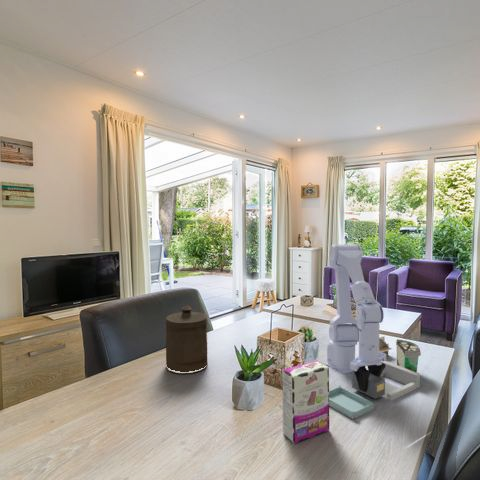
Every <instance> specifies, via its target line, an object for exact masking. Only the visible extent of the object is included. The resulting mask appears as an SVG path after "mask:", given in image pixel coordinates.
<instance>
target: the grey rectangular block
mask: <svg viewBox="0 0 480 480" xmlns="http://www.w3.org/2000/svg"><path fill="white" fill-rule="evenodd" d="M351 380H352V386H351V387H352V389H355V390H357V391H359V392H361V393H363V394H365V395H367V396H369V397H371V398H373V399H378V398H381V396H382V395H384V394H385V382H386V379H385V378H383V377H378V376H376V375H374V374H370V376H369V379H368V386H367V391H366V392H363V391H361V390H359V386H358V382H357V379H356V376H355V374H354V372H353V373H352V379H351Z"/></svg>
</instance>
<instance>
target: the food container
mask: <svg viewBox="0 0 480 480" xmlns="http://www.w3.org/2000/svg"><path fill="white" fill-rule="evenodd" d="M395 341H396V342H395V343H396V365H398V366H401V367H403V368H406V369H409V370H411V371H414V372H417V373H418V364H419V357H420V356H421V355H422V353H421V348H420V346H419V345H418V344H416V343H414V342H412V341H408V340H406V339H405V340H404V339H396V340H395Z"/></svg>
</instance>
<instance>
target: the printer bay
mask: <svg viewBox="0 0 480 480" xmlns="http://www.w3.org/2000/svg"><path fill="white" fill-rule="evenodd" d="M381 362H382V363H384V364H385V368H384V370H383V372H382V374H381V376H380V377H381V378H383V377H387V378H389V379H392V380H394V381H397V382H399V383H402V384H404V385H403V386H400V387H397V386H396V385H393V384H391V383H388V382H386V381H385V394H384V395H382V396H380V398H381V397H382V398H384V399H386V400H388V401H389V402H391V401H394V400H396V399H398V398H400V397H402V396H405V395H406V394H408V393H411V392H413V391H414V390H416V389H419V388H421V373H419V372H418V371H417V372H414V371H411V370H409V369H406V368H403V367H401V366H398V365H397V364H395V363H392V362H391V361H387V360H385V361H383V360H382V361H381Z"/></svg>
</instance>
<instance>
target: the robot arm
mask: <svg viewBox="0 0 480 480" xmlns="http://www.w3.org/2000/svg"><path fill="white" fill-rule="evenodd" d="M362 259H363V248H362V246H361V245H360V244H359V243H355V244H354V243H351V244H335V243H333V244H332V245H331V246H330V249H329V265H330V268H331V269H334V275H335V293H336V294H335V295H336V296H335V297H336V311H337V312H336V313H337V314H336V315H335V316H334V317H333V318H331V319H330V320H329V328H328V329H329V330H328V334H329V338H330V340H329V341H328V344H327V346H326V358H327V359H326V363H325V365H326V366H328V367H329V368H332V369H334V370H336V371H339V372H342V373H343V374H349V373H351V372H353V373H354V374H355V376H356V379H357V382H358V386H359V390H361V391H363V392H366V391H367V386H368V379H369V376H370V374H374V375H376V376H378V377H380V376H381V374H382V372H383V370H384V368H385V364H384V363H382V362H383V361H387V355H386V354H385V353H382V352H379V338H380V324H382V323H383V321H384V317H385V316H384V315H385V313H384V309H383V306H382V305H381V303H379V300H376V299H375V296H374V292H373V290H372V287H371V285H370V283H369V282H367V281H365V278H364V274H363V273H364V272H363V269H362V265H361V263H362ZM351 282H352V286H351ZM351 293H352V296H351ZM351 297H353V299H354V303H355V306H356V307H355V317H354V316H353V315H352V299H351ZM356 345H358V355H357V357H356ZM366 367H367V368H366ZM363 392H362V393H363Z"/></svg>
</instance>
